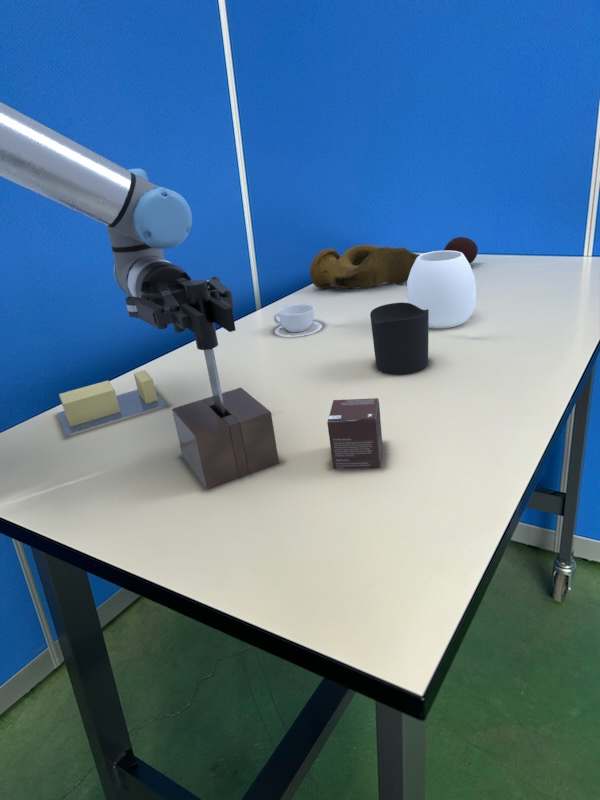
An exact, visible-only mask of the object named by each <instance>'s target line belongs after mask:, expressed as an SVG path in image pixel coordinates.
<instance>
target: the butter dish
mask: <svg viewBox="0 0 600 800" xmlns="http://www.w3.org/2000/svg"><path fill="white" fill-rule="evenodd" d="M156 395H157V399H158V401H155V402H152V403H148V404H146V403H145V402H144V400H143V399H142V398H141V396H140V395H139V393H138V389H135V390H131V391H128V392H124V393H121V394H116V397H117V400H118V404H119V408H120V411H121V412H118V413H115V414H112V415H108V416H105V417H102V418H98V419H95V420H92V421H89V422H85V423H82V424H79V425H75V426H72V427H70V425H69V423H68V420H67V418H66V415H65V412H64V410H62V411H58V412H57V415H58V417H59V420H60V423H61V425H62V428H63V430H64V433H65V435H66V436H68V435H72V434H75V433H78V432H82V431H85V430H88V429H91V428H94V427H98V426H101V425H105V424H107V423H111V422H114V421H118V420H121V419H125V418H128V417H131V416H134V415H137V414H140V413H144V412H147V411H150V410H154V409H157V408H160V407H163V406H166V405H167V403H166V402H165V401H164V400H163V398H162V397H161V396H160V395H159V394H158V392H156Z"/></svg>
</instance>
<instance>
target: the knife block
mask: <svg viewBox="0 0 600 800" xmlns="http://www.w3.org/2000/svg"><path fill="white" fill-rule="evenodd" d="M222 396H223V402H224V407H225V412H226V417H223V418H220V417H219V416H218V415H217V414H216V409H215V404H214V399H213V395H212V396H208V397H205V398H202V399H199V400H196V401H192V402H190V403H189V402H188V403H186V404H183V405H180V406H176V407H172V408H171V411H172V416H173V420H174V425H175V429H176V434H177V437H178V442H179V446H180V451H181V455H182V458H183V460H184V461H185V463H186V464H187V465H188V466H189V468H190V469H191V471H192V472H193V473H194V475H195V476H196V477H197V478H198V480H199V481H200V483H201V484H202V485H203V487H204V488H205V489H206V490H211V489H213V488H216V487H219V486H222V485H224V484H227V483H229V482H232V481H236V480H238V479H241V478H244V477H247V476H248V475H252V474H254V473H258V472H260V471H263V470H265V469H268V468H271V467H274V466H277V465H279V464H280V460H279V453H278V447H277V441H276V435H275V428H274V422H273V416H272V412H271V410H270V409H268V408H267V407H266V406H265V405H263V404H262V403H261V402H259V401H258V400H257V399H256V398H254V397H253V396H252V395H251V394H250V393H249V392H247V391H246V390H245V389H244V388H243V387H238V388H235V389H230V390H228V391H224V392H222Z"/></svg>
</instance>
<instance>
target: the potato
mask: <svg viewBox="0 0 600 800" xmlns="http://www.w3.org/2000/svg"><path fill="white" fill-rule="evenodd" d="M449 250H450V251H458V252H461V253H463V254H464V256H465V257H466V259H467V261H468V262H469V264H470V265H471V264H472V263H473V262H474V261H475V260H476V258H477V255H478V251H479V249H478V245H477V244H476V242H475V241H474V240H473V239H471V238H469V237H465V236H458V237H457V236H456V237H453V238H452V239H451V240H449V241H448V242H447V243H446V245H445V247H444V248H443V251H449Z"/></svg>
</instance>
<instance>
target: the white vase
mask: <svg viewBox="0 0 600 800" xmlns="http://www.w3.org/2000/svg"><path fill="white" fill-rule="evenodd" d="M406 282H407V284H406V286H407V287H406V301H407V302H406V303H410V304H413V305H415V306H417V307H419V308H420V309H422V310H427V309H428V310H429V329H436V330H438V329H440V330H442V329H451V328H454V327H459V326H461V325H463V324H464V323H466V322H467V321H468V320H470V318H471V316H472V315H473V314H474V313H473V312H474V310H475V308H476V305H477V283H476V276H475V273H474V271H473V268H472V266H471V263H470V264H469V262H468V261H467V259H466V257H465V256H464V254H463V253H461V252H458V251H450V250H449V251H444V250H433V251H429V252H425V253H421V254H419V256H418V257H417V258H416V260H415V262H414V264H413V266H412V268H411V271H410V274H409V277H408V280H407V281H406Z"/></svg>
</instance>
